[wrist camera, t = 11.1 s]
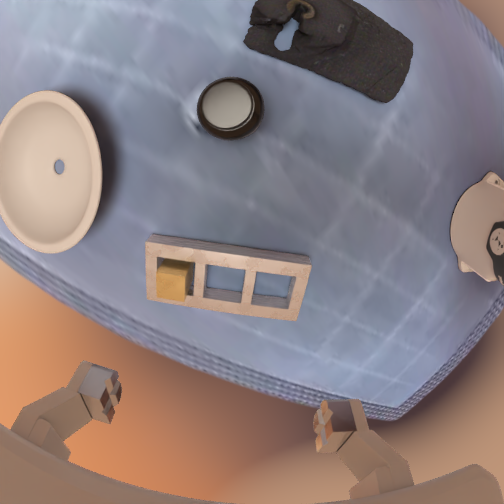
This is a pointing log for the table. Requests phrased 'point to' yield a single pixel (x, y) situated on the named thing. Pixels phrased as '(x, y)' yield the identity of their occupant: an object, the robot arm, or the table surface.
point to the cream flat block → (231, 258)
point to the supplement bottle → (230, 108)
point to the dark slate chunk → (336, 43)
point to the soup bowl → (49, 172)
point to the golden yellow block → (174, 279)
